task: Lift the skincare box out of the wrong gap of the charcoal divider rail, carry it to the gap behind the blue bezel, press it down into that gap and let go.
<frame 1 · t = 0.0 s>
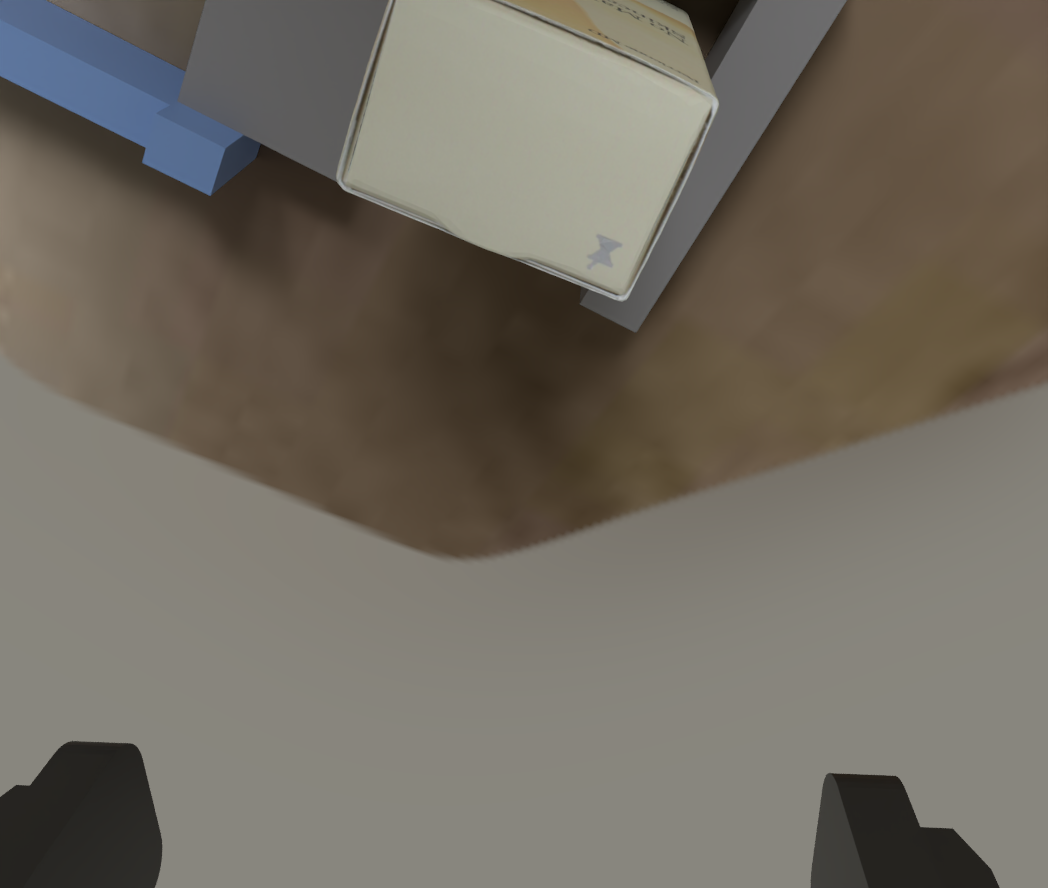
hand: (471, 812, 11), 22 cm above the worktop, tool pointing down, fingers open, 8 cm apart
skincare box: (559, 40, 27), resting in divider rail
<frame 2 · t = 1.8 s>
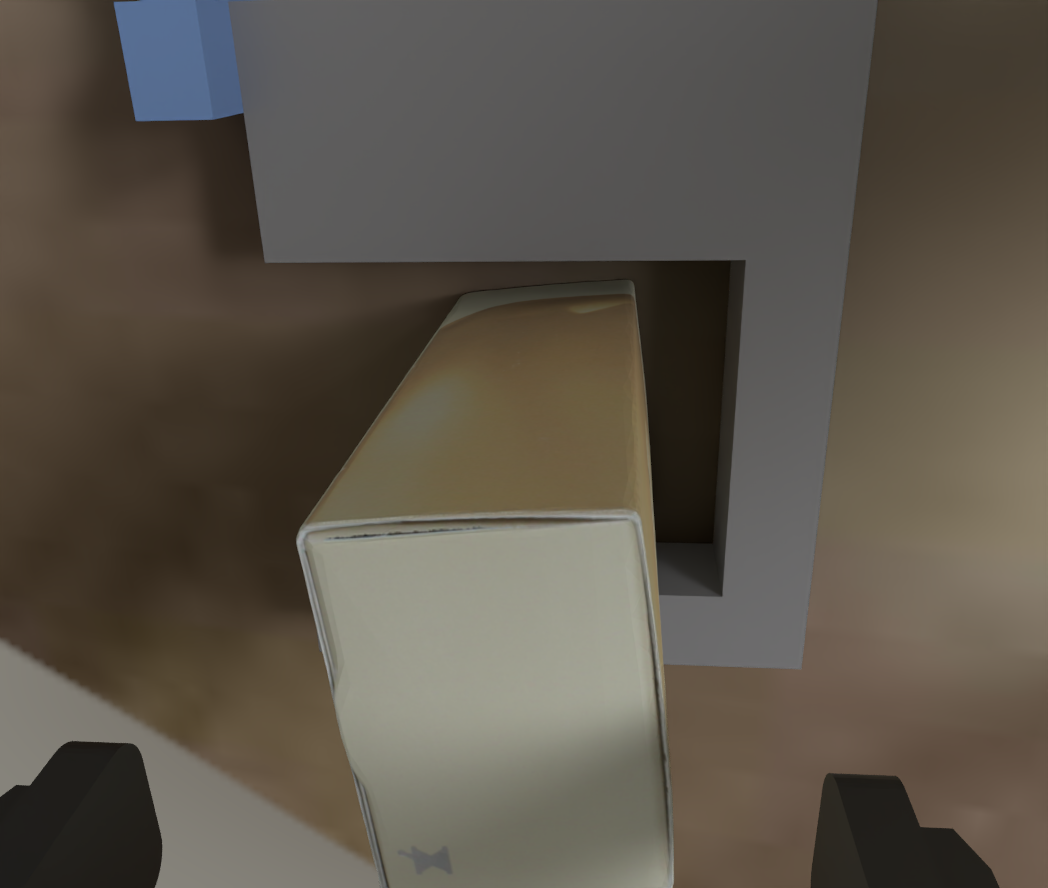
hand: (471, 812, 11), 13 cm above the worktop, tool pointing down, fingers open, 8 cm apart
divider rail: (507, 98, 20), on the worktop
skincare box: (558, 395, 23), resting in divider rail
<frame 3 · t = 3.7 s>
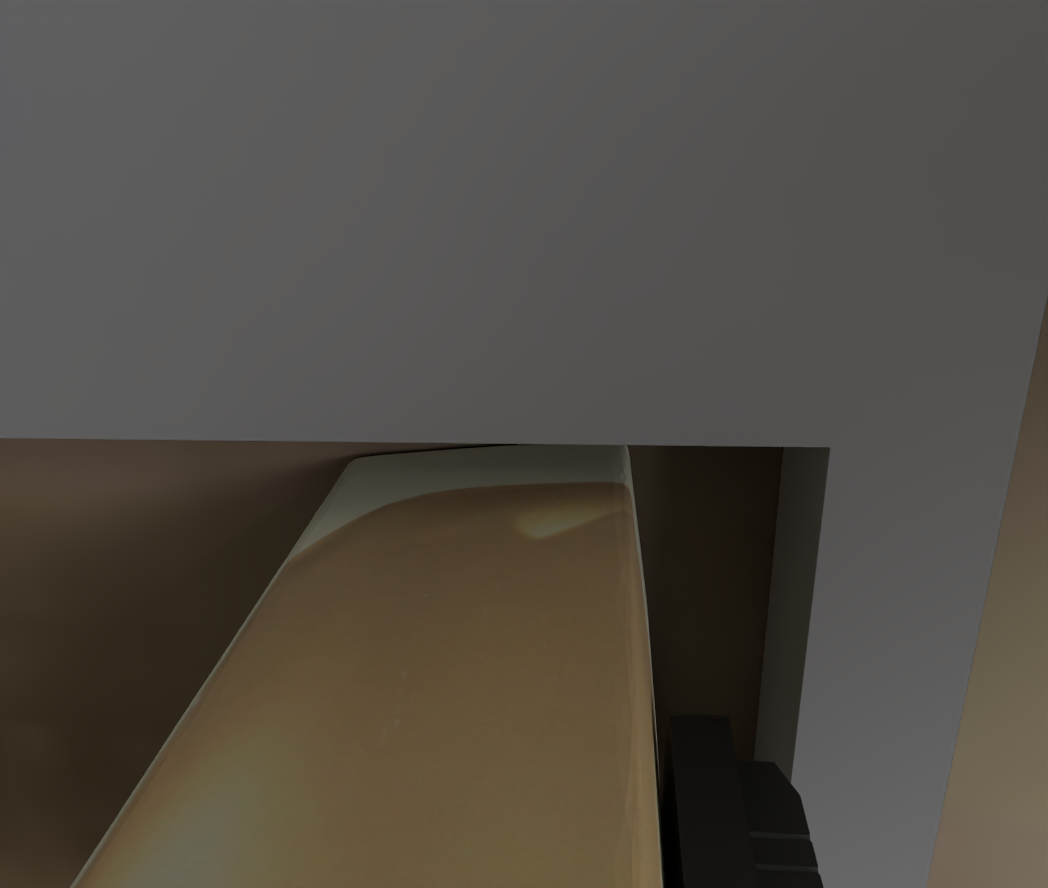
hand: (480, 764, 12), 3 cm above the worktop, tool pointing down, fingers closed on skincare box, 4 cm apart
divider rail: (414, 150, 12), on the worktop
skincare box: (509, 604, 15), resting in divider rail, touching gripper
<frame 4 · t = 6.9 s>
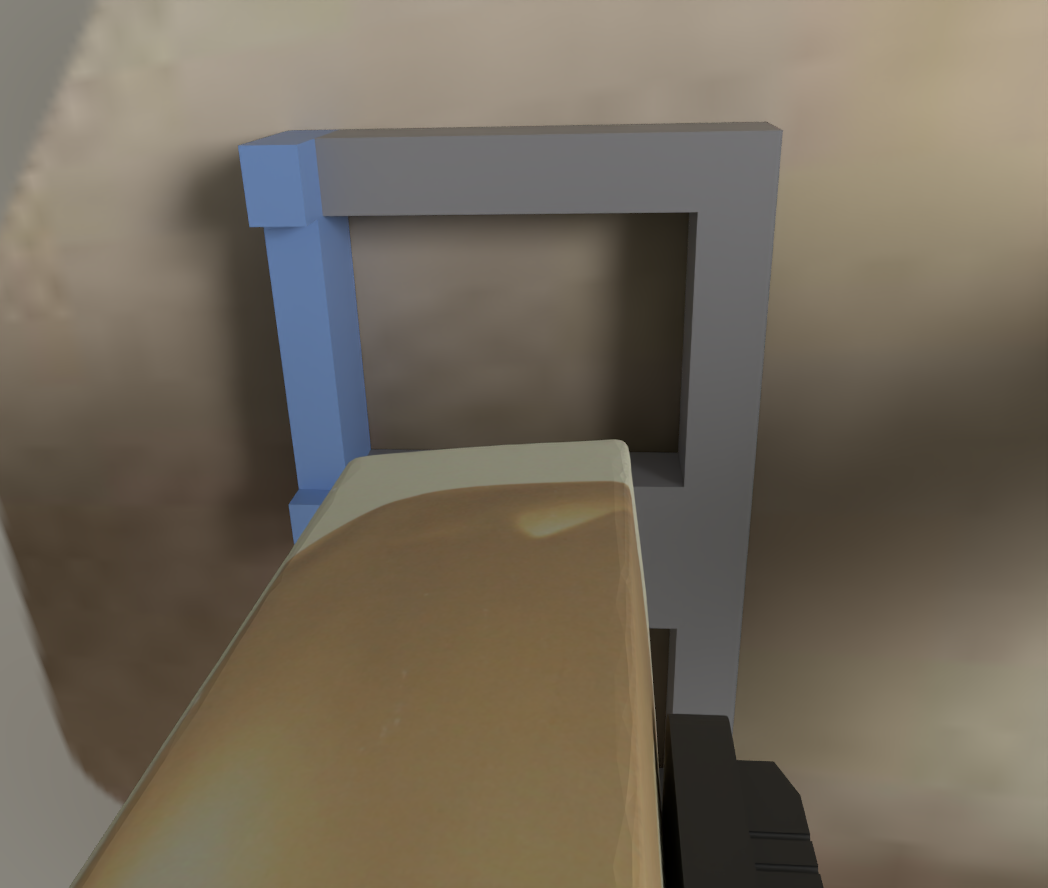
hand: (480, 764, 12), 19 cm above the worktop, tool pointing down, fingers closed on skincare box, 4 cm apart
divider rail: (523, 505, 31), on the worktop
skincare box: (509, 603, 15), point 15 cm above the worktop, touching gripper
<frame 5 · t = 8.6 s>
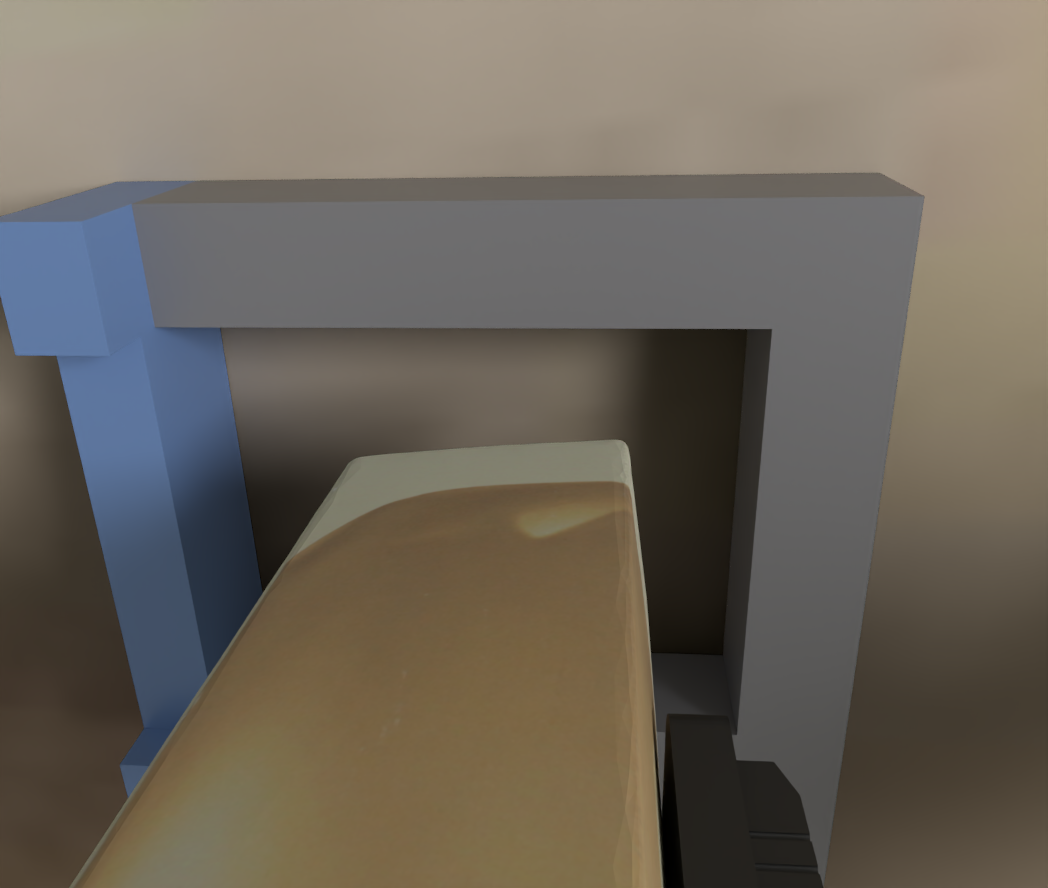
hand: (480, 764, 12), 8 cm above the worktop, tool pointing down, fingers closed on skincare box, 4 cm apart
divider rail: (494, 720, 21), on the worktop
skincare box: (509, 604, 15), point 4 cm above the worktop, touching gripper
when the fingers open (4 cm above the worktop, at t = 10.1 s): skincare box stays where it is, resting in divider rail.
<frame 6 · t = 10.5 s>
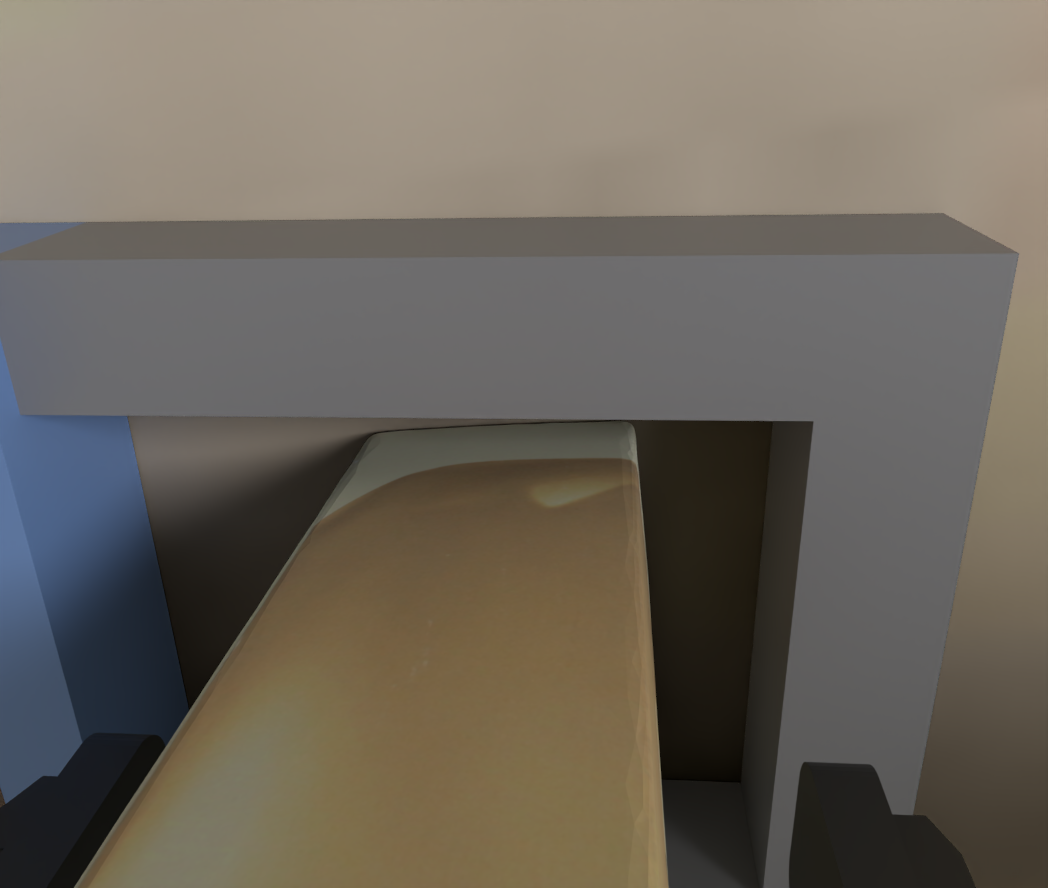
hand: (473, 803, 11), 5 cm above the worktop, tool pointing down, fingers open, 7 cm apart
divider rail: (468, 852, 18), on the worktop
skincare box: (517, 577, 16), resting in divider rail
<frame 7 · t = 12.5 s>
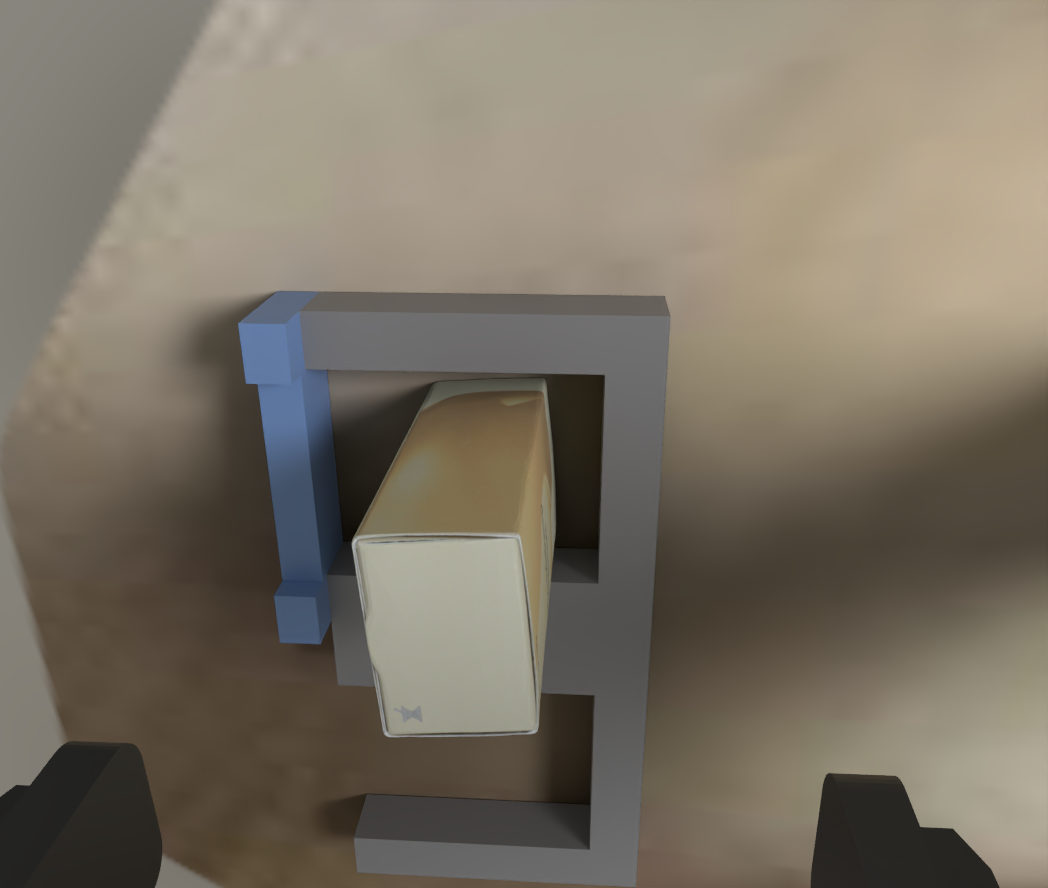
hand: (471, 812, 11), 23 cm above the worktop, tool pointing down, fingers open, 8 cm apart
divider rail: (470, 588, 37), on the worktop
skincare box: (495, 449, 35), resting in divider rail
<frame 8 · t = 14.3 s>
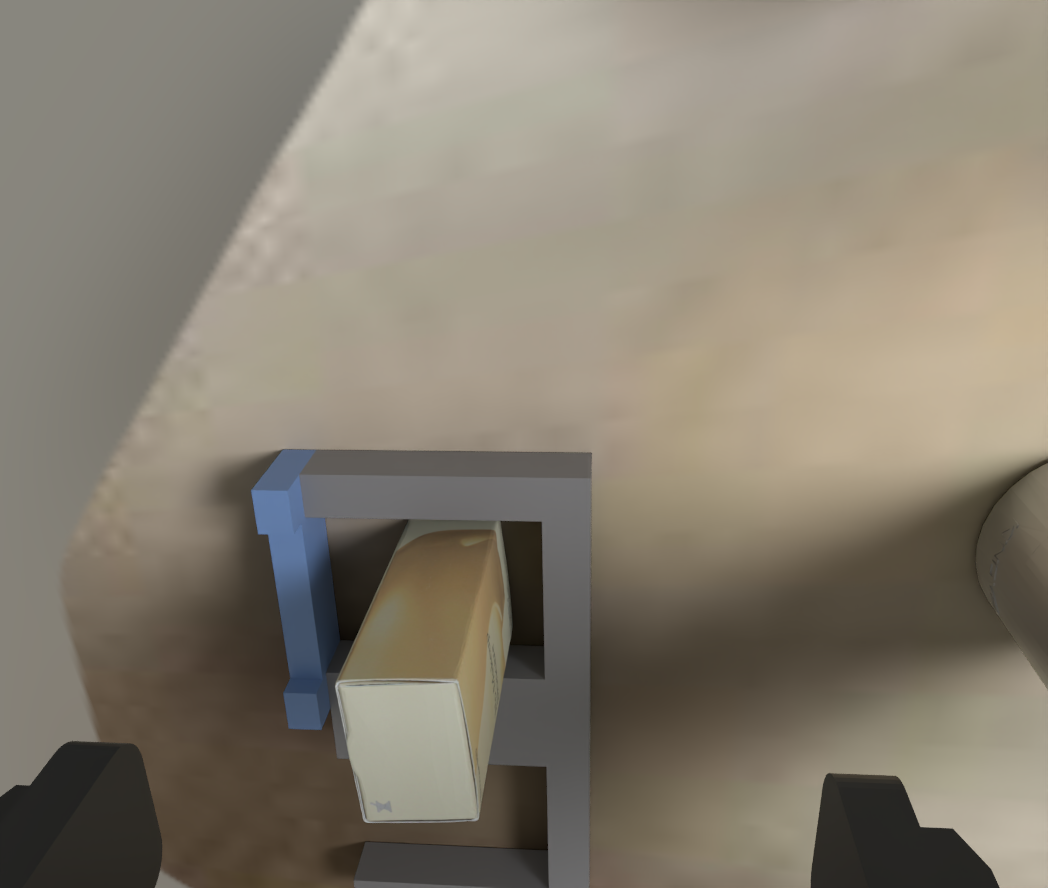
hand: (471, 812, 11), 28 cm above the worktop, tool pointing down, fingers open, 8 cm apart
divider rail: (445, 677, 45), on the worktop
skincare box: (461, 568, 43), resting in divider rail
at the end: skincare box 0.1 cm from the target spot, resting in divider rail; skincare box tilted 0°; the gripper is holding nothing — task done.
